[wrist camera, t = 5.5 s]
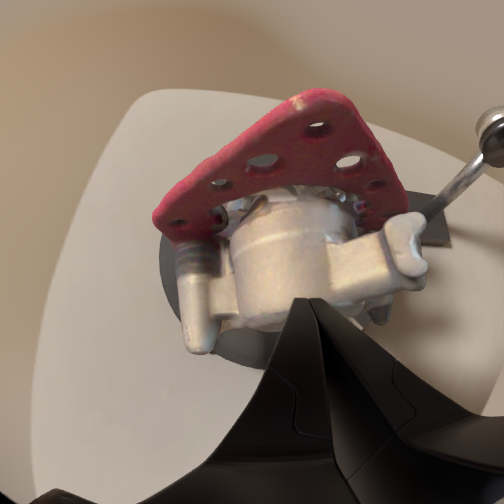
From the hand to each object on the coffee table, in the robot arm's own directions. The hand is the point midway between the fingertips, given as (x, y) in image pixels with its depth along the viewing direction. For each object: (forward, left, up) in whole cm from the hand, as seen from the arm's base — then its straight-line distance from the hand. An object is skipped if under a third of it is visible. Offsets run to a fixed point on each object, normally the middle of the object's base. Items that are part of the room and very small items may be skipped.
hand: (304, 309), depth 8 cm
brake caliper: (+4, 0, -7) cm, 8 cm away
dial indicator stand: (+7, -10, -7) cm, 15 cm away
